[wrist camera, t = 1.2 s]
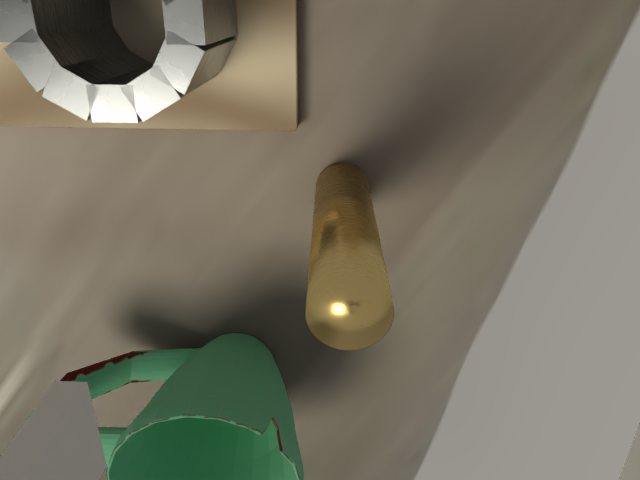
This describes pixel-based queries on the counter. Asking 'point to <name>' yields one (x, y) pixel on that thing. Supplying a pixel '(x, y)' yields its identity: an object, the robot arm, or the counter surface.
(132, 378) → the mug
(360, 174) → the hinge pin
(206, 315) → the counter surface
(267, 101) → the mounting board
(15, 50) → the grey piece
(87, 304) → the counter surface
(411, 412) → the counter surface
